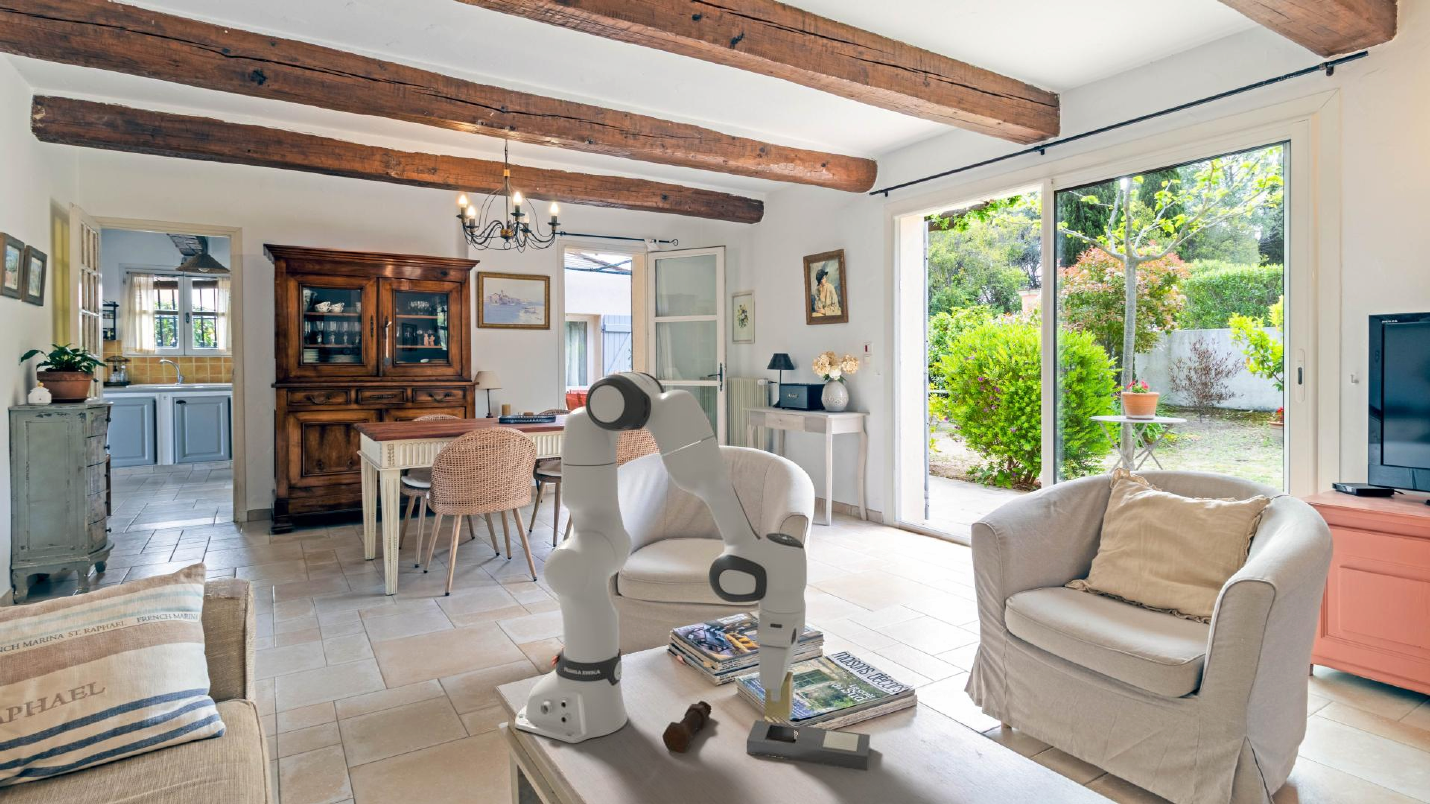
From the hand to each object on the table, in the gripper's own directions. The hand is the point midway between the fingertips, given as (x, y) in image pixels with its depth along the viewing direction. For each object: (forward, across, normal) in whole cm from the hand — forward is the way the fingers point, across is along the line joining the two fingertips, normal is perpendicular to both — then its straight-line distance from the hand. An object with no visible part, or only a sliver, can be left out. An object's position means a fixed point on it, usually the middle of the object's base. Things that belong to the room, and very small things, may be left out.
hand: (778, 692), depth 140 cm
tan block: (+4, 0, 0) cm, 4 cm away
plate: (+10, 0, +6) cm, 12 cm away
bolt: (+11, 0, -17) cm, 21 cm away
